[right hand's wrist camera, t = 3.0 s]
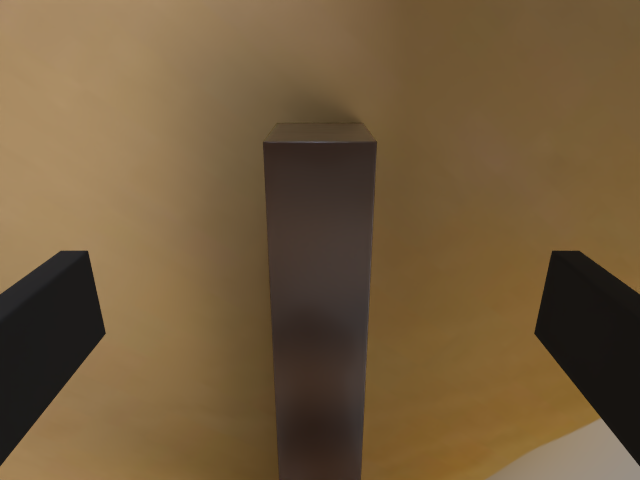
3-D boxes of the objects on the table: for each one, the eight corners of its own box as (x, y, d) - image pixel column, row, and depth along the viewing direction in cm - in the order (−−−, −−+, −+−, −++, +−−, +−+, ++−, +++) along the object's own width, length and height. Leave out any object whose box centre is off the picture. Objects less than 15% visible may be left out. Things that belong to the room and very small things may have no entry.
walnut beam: (348, 526, 38) (354, 614, 32) (291, 526, 38) (285, 614, 32) (363, 123, 25) (377, 141, 19) (276, 123, 25) (262, 141, 19)
